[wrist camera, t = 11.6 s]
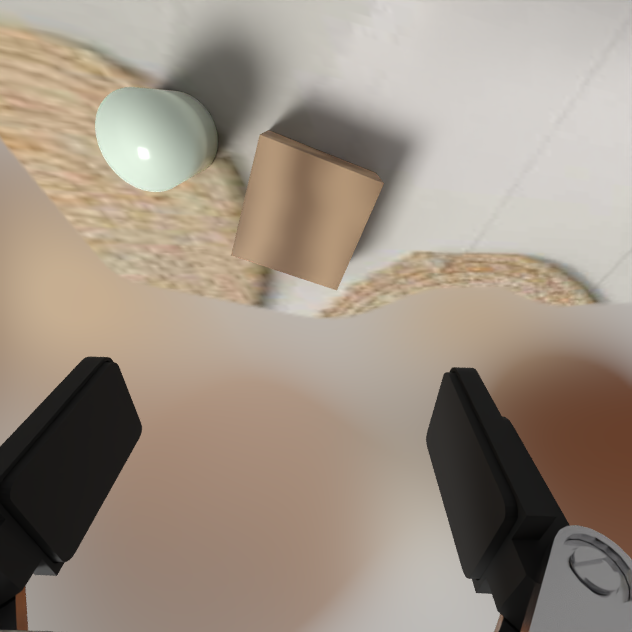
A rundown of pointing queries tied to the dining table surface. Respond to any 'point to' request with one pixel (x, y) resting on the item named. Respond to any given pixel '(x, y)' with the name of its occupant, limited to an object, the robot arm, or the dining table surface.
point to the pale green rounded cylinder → (155, 136)
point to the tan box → (304, 210)
